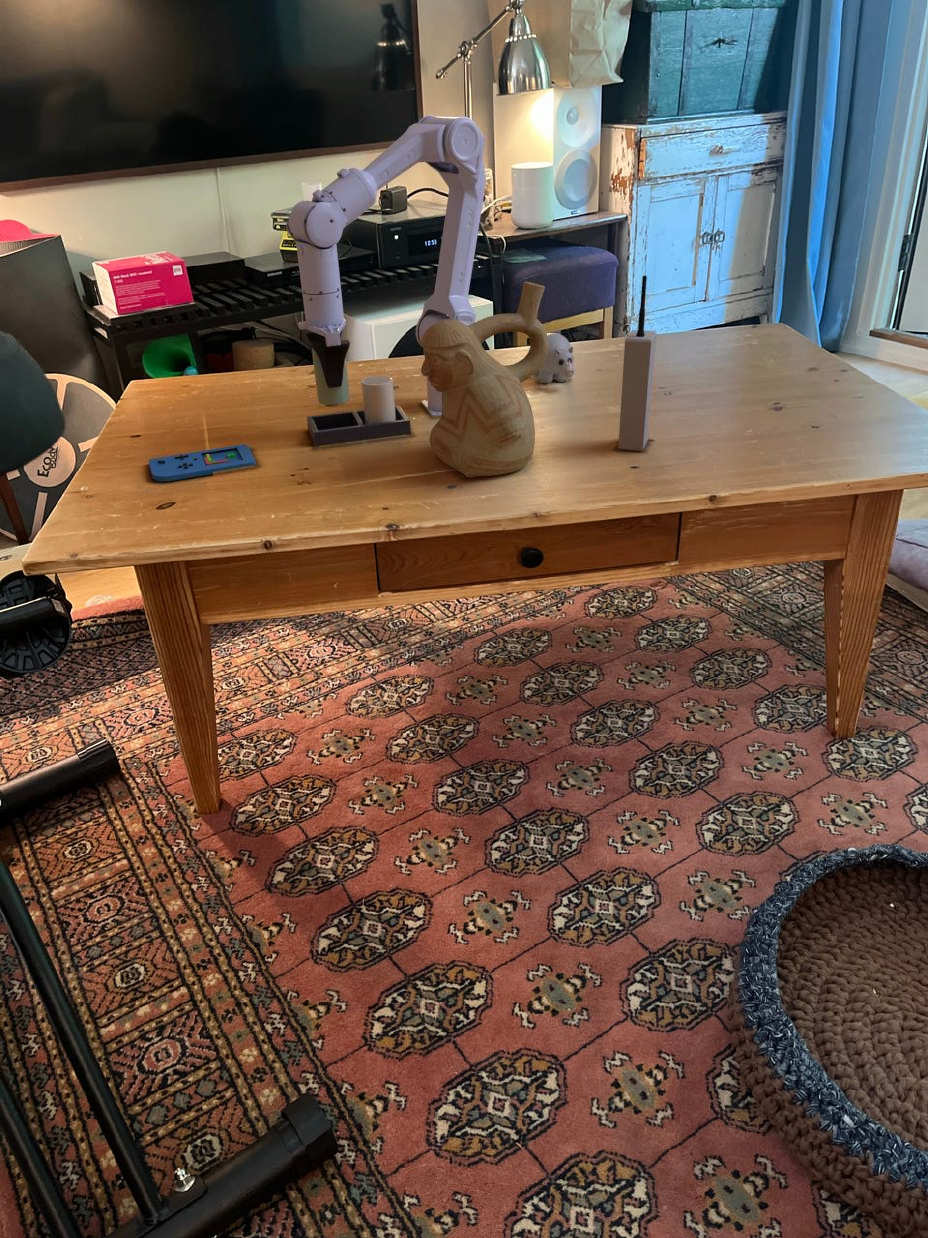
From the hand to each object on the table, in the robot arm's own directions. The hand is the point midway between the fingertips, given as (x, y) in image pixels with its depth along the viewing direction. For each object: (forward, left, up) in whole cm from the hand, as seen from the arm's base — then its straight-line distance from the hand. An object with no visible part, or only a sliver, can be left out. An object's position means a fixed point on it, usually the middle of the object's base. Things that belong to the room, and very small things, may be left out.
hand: (331, 381), depth 140 cm
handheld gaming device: (+22, +5, -9) cm, 24 cm away
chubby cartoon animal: (-42, -13, -10) cm, 46 cm away
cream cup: (-7, 0, -9) cm, 11 cm away
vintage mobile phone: (-42, +20, -9) cm, 48 cm away
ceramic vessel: (-19, +19, -9) cm, 29 cm away
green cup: (0, 0, -3) cm, 3 cm away
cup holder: (-3, 0, -9) cm, 10 cm away
